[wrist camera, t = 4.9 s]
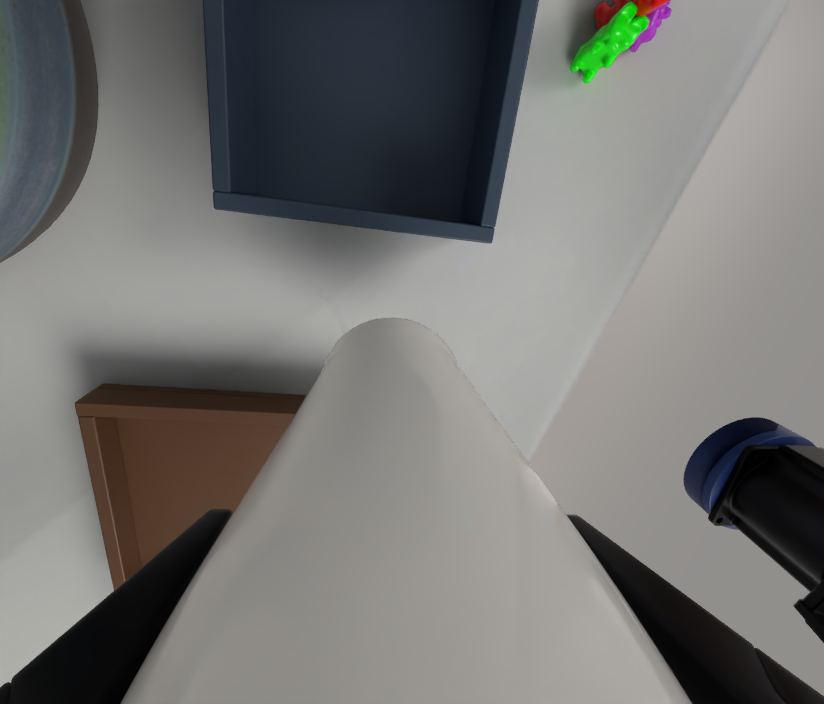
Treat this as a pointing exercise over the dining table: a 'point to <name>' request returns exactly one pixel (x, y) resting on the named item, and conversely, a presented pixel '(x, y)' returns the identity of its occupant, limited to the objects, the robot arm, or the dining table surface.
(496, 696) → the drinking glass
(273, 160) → the bin
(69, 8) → the vase
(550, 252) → the dining table surface
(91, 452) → the tray
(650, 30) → the gummy bear
